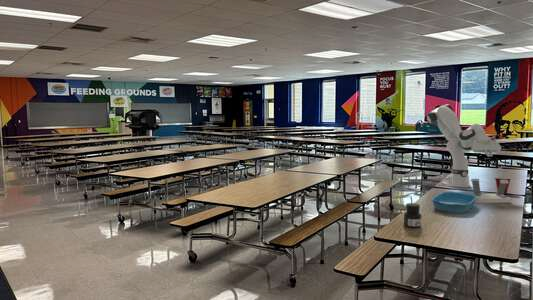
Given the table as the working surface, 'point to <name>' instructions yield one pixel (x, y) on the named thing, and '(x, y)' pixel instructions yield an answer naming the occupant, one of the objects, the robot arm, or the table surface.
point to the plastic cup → (502, 179)
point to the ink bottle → (412, 216)
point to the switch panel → (492, 199)
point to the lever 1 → (476, 187)
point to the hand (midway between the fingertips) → (490, 156)
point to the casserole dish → (454, 202)
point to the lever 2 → (502, 187)
